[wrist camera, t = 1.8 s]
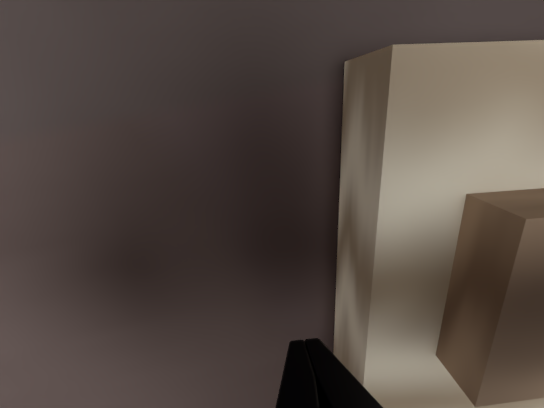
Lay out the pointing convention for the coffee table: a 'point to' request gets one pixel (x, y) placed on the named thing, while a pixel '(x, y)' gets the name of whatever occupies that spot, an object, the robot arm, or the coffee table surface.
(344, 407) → the robot arm
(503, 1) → the coffee table surface
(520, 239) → the walnut tile
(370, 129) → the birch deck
